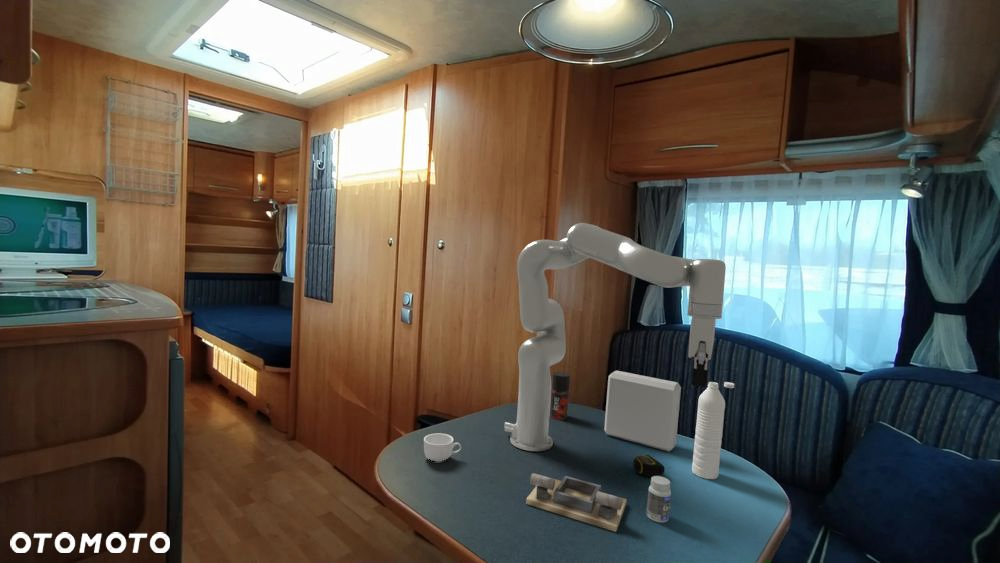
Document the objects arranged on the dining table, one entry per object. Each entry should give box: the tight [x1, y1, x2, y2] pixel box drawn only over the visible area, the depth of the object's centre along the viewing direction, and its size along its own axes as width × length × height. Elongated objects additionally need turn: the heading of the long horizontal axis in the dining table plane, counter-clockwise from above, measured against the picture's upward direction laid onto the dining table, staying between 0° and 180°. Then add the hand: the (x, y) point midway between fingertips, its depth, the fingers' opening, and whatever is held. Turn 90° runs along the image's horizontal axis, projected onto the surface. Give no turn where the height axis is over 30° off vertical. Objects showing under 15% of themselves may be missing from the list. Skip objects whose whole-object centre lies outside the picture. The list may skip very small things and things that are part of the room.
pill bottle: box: [646, 475, 672, 524], centre depth 100 cm, size 5×5×8 cm
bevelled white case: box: [603, 370, 682, 452], centre depth 142 cm, size 21×8×20 cm, turn 58°
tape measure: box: [632, 454, 666, 478], centre depth 121 cm, size 7×7×4 cm
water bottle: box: [691, 381, 735, 480], centre depth 122 cm, size 9×6×25 cm
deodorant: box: [549, 371, 571, 421], centre depth 159 cm, size 6×6×15 cm
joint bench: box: [525, 472, 627, 533], centre depth 104 cm, size 20×12×6 cm, turn 65°
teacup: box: [423, 432, 462, 461], centre depth 122 cm, size 10×8×5 cm
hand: (699, 380), depth 111 cm, fingers open, 9 cm apart
